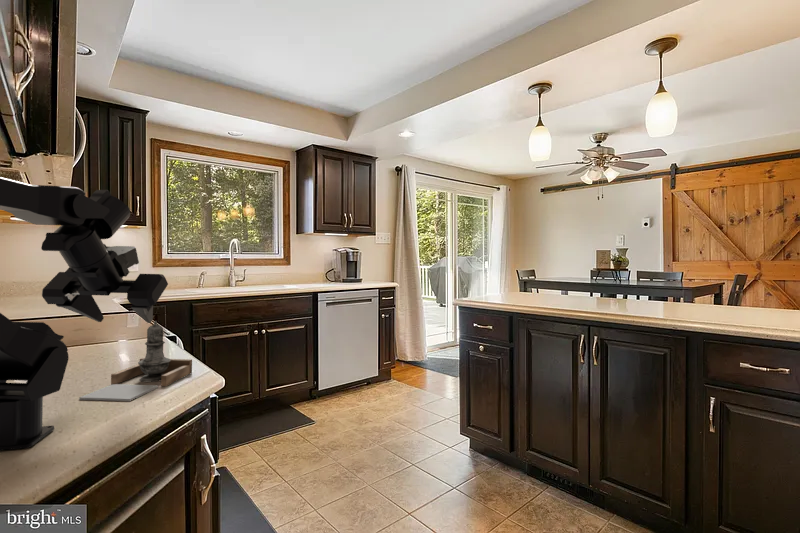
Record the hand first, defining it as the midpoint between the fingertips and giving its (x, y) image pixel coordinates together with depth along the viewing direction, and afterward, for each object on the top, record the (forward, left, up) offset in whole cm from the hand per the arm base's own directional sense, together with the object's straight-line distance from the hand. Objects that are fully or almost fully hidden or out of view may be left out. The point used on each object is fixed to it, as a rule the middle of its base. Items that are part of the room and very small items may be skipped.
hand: (126, 320), depth 78 cm
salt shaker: (+7, -3, -13) cm, 16 cm away
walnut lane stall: (+7, -3, -13) cm, 15 cm away
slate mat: (-2, 0, -13) cm, 13 cm away
